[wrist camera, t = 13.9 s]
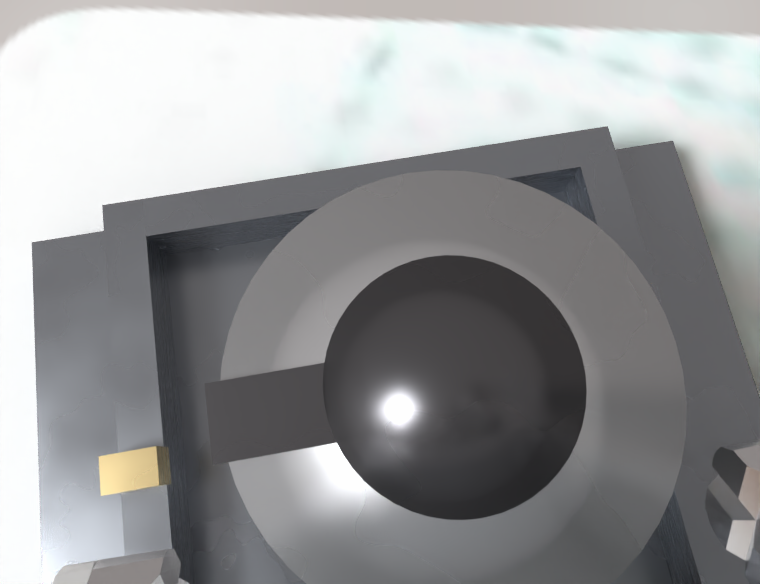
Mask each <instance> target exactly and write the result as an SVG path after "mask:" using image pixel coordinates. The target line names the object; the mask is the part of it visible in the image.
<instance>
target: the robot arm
mask: <svg viewBox="0 0 760 584" xmlns="http://www.w3.org/2000/svg"><path fill="white" fill-rule="evenodd" d="M712 467H713V468H714V469H715V470H716V472H717V473H718V474H719V475H718V476H717V477H716V478H715V479H714V480H713V481H712V482H711V483H710V484H709V485H708V486H707V491H706V497H705V506H706V511H707V515H708V520H709V522H710V524H711V526H712V529H713V531H714V533H715V535H716V536H717V538H718V539H719V540H720V542H721V543H722V545H723V546H724V548H725V549H726V550H728V551H729V552H731V553H733V554H735V555H736V556H738V557H740V558H742V559H743V560H745V577H746V578H747V579H748V581H749V582H750V583H751V584H760V439H757V440H752V441H747V442H742V443H737V444H732V445H727V446H722V447H720V448H719V449H718V450H717V451H716V452H715V453H714V458H713V462H712ZM180 567H181V562H180V560H179V558H178V556H177V554H176V552H175V550H174V549H165V550H158V551H152V552H146V553H139V554H133V555H126V556H120V557H114V558H107V559H101V560H96V561H90V562H84V563H78V564H72V565H66V566H63V567H62V568H61V570H60V571H59V572H58V573H57V574H56V576H55V577H54V579H53V582H52V584H190V583H188V582H186V581H184V580H182V579H181V578H179V573H180Z"/></svg>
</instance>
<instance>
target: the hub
mask: <svg viewBox="0 0 760 584" xmlns="http://www.w3.org/2000/svg"><path fill="white" fill-rule="evenodd" d="M204 386H205V396H206V406H207V416H208V426H209V436H210V446H211V456H212V465H219V464H224V463H229V466H230V469H231V472H232V475H233V479H234V482H235V485H236V487H237V489H238V491H239V493H240V496H241V498H242V500H243V502H244V504H245V506H246V509H247V511H248V513H249V515H250V516H251V518H252V520H253V521H254V523H255V524H256V526H257V527H258V529H259V530H260V532H261V534H262V535H263V537H264V538H265V540H266V541H267V543H268V544H269V545H270V546H271V548H272V549H273V550H274V551H275V552H276V553H277V555H278V556H279V557H280V558H281V559H282V560H283V562H284V563H285V564H286V565H287V566H288V568H289V569H291V570H292V571H293V572H294V573H295V574H296V575H297V576H298V577H300V578H301V579H302V580H303V581H304V582H305V583H306V584H611V583H612V582H614V581H615V580H616V579H617V578H618V577H619V576H620V575H621V574H622V573H623V572H624V571H625V570H626V569H627V567H628V566H629V565H630V564H631V563H632V562H633V560H634V559H635V558H636V557H637V556H638V555H639V553H640V552H641V551H642V550H643V548H644V547H645V545H646V543H647V542H648V540H649V539H650V537H651V536H652V534H653V532H654V531H655V529H656V528H657V526H658V525H659V523H660V521H661V518H662V516H663V514H664V512H665V509H666V507H667V505H668V503H669V501H670V498H671V496H672V494H673V490H674V487H675V484H676V480H677V477H678V473H679V470H680V467H681V462H682V456H683V449H684V443H685V436H686V394H685V384H684V375H683V369H682V365H681V361H680V357H679V353H678V349H677V345H676V341H675V339H674V336H673V333H672V331H671V328H670V325H669V323H668V320H667V317H666V315H665V313H664V311H663V309H662V307H661V305H660V303H659V301H658V299H657V297H656V296H655V294H654V292H653V290H652V288H651V286H650V285H649V284H648V282H647V281H646V279H645V278H644V276H643V275H642V273H641V272H640V271H639V269H638V268H637V266H636V265H635V263H634V262H633V261H632V260H631V259H630V258H629V257H628V255H627V254H626V253H625V252H624V251H623V250H622V249H621V247H620V246H619V245H618V244H617V243H616V242H615V241H614V240H613V239H612V238H611V237H610V236H608V235H607V234H606V233H605V232H604V231H603V230H602V229H601V228H600V227H598V226H597V225H596V224H595V223H594V222H593V221H591V220H590V219H588V218H587V217H585V216H584V215H583V214H581V213H580V212H578V211H577V210H575V209H574V208H573V207H571V206H570V205H568V204H566V203H564V202H562V201H560V200H558V199H557V198H555V197H553V196H551V195H549V194H547V193H546V192H543V191H540V190H538V189H535V188H533V187H530V186H528V185H525V184H523V183H520V182H517V181H513V180H510V179H506V178H502V177H498V176H495V175H490V174H483V173H476V172H469V171H449V170H434V171H423V172H413V173H407V174H402V175H397V176H393V177H388V178H384V179H381V180H378V181H375V182H372V183H369V184H366V185H363V186H361V187H358V188H355V189H353V190H351V191H349V192H347V193H345V194H343V195H341V196H339V197H337V198H335V199H333V200H331V201H330V202H328V203H327V204H325V205H324V206H322V207H321V208H319V209H318V210H316V211H315V212H313V213H312V214H310V215H309V216H308V217H306V218H305V219H304V220H303V221H302V222H301V223H299V224H298V225H297V226H296V227H295V228H294V229H293V230H291V231H290V232H289V233H288V234H287V235H286V236H285V237H284V238H283V239H282V240H281V242H280V243H279V244H278V245H277V246H276V247H275V248H274V249H273V250H272V252H271V253H270V254H269V255H268V256H267V258H266V259H265V261H264V262H263V264H262V265H261V266H260V268H259V269H258V271H257V272H256V274H255V275H254V276H253V278H252V280H251V282H250V284H249V285H248V287H247V289H246V291H245V293H244V295H243V297H242V299H241V301H240V303H239V305H238V308H237V310H236V313H235V316H234V319H233V321H232V324H231V327H230V330H229V333H228V337H227V341H226V346H225V350H224V355H223V359H222V367H221V378H220V381H215V382H210V383H204Z"/></svg>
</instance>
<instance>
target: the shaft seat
mask: <svg viewBox="0 0 760 584" xmlns="http://www.w3.org/2000/svg"><path fill="white" fill-rule="evenodd" d="M434 170H449V171H469V172H476V173H483V174H490V175H495V176H498V177H502V178H506V179H510V180H513V181H517V182H520V183H523V184H525V185H528V186H530V187H533V188H535V189H538V190H540V191H543V192H546V193H547V194H549V195H551V196H553V197H555V198H557V199H558V200H560V201H562V202H564V203H566V204H568V205H570V206H571V207H573V208H574V209H575V210H577V211H578V212H580V213H581V214H583V215H584V216H585V217H587V218H588V219H590V220H591V221H593V222H594V223H595V224H596V225H597V226H598V227H600V228H601V229H602V230H603V231H604V232H605V233H606V234H607V235H608V236H610V237H611V238H612V239H613V240H614V241H615V242H616V243H617V244H618V245H619V246H620V247H621V249H622V250H623V251H624V252H625V253H626V254H627V255H628V257H629V258H630V259H631V260H632V261H633V262H634V263H635V265H636V266H637V268H638V269H639V271H640V272H641V273H642V275H643V276H644V278H645V279H646V281H647V282H648V284H649V285H650V286H651V288H652V290H653V292H654V294H655V296H656V297H657V299H658V301H659V303H660V305H661V307H662V309H663V311H664V313H665V315H666V317H667V320H668V323H669V325H670V328H671V331H672V333H673V336H674V339H675V341H676V345H677V349H678V353H679V357H680V361H681V365H682V369H683V375H684V384H685V394H686V436H685V443H684V449H683V456H682V462H681V467H680V470H679V473H678V477H677V480H676V484H675V487H674V490H673V494H672V496H671V498H670V501H669V503H668V505H667V507H666V509H665V512H664V514H663V516H662V518H661V521H660V523H659V525H658V526H657V528H656V529H655V531H654V532H653V534H652V536H651V537H650V539H649V540H648V542H647V543H646V545H645V547H644V548H643V550H642V551H641V552H640V553H639V555H638V556H637V557H636V558H635V559H634V560H633V562H632V563H631V564H630V565H629V566H628V567H627V569H626V570H625V571H624V572H623V573H622V574H621V575H620V576H619V577H618V578H617V579H616V580H615V581H614V582H612V583H611V584H751V583H750V582H749V581H748V579H747V578H746V577H745V560H743V559H742V558H740V557H738V556H736V555H735V554H733V553H731V552H729V551H728V550H726V549H725V548H724V546H723V545H722V543H721V542H720V540H719V539H718V538H717V536H716V535H715V533H714V531H713V529H712V526H711V524H710V522H709V520H708V515H707V511H706V506H705V497H706V491H707V486H708V485H709V484H710V483H711V482H712V481H713V480H714V479H715V478H716V477H717V476H718V475H719V474H718V473H717V472H716V470H715V469H714V468H713V467H712V462H713V458H714V453H715V452H716V451H717V450H718V449H719V448H720V447H722V446H727V445H732V444H737V443H742V442H747V441H752V440H757V439H760V397H759V394H758V391H757V388H756V385H755V382H754V380H753V377H752V374H751V371H750V368H749V365H748V362H747V359H746V356H745V353H744V350H743V347H742V344H741V341H740V338H739V335H738V332H737V329H736V326H735V323H734V320H733V317H732V314H731V312H730V309H729V306H728V303H727V300H726V297H725V294H724V291H723V288H722V285H721V282H720V279H719V276H718V273H717V270H716V267H715V264H714V261H713V258H712V255H711V252H710V249H709V246H708V243H707V241H706V238H705V235H704V232H703V229H702V226H701V223H700V220H699V217H698V214H697V211H696V208H695V205H694V202H693V199H692V196H691V193H690V190H689V187H688V184H687V181H686V178H685V175H684V172H683V170H682V167H681V164H680V161H679V158H678V155H677V152H676V149H675V146H674V143H673V141H668V142H662V143H656V144H649V145H643V146H637V147H630V148H624V149H618V150H615V148H614V145H613V142H612V139H611V136H610V132H609V129H608V126H607V127H600V128H594V129H588V130H581V131H575V132H568V133H562V134H556V135H549V136H543V137H536V138H530V139H524V140H517V141H511V142H505V143H498V144H492V145H485V146H479V147H473V148H466V149H460V150H453V151H447V152H441V153H434V154H428V155H421V156H415V157H409V158H402V159H396V160H389V161H383V162H377V163H370V164H364V165H358V166H351V167H345V168H338V169H332V170H326V171H319V172H313V173H306V174H300V175H294V176H287V177H281V178H274V179H268V180H262V181H255V182H249V183H242V184H236V185H230V186H223V187H217V188H211V189H204V190H198V191H191V192H185V193H179V194H172V195H166V196H159V197H153V198H147V199H140V200H134V201H127V202H121V203H115V204H108V205H102V206H103V222H104V231H102V232H95V233H89V234H83V235H76V236H70V237H64V238H58V239H51V240H45V241H39V242H32V260H33V293H34V325H35V358H36V391H37V423H38V456H39V488H40V521H41V553H42V584H52V582H53V579H54V577H55V576H56V574H57V573H58V572H59V571H60V570H61V568H62V567H63V566H66V565H72V564H78V563H84V562H90V561H96V560H101V559H107V558H114V557H120V556H126V555H133V554H139V553H146V552H152V551H158V550H165V549H174V550H175V552H176V554H177V556H178V558H179V560H180V562H181V567H180V573H179V578H181V579H182V580H184V581H186V582H188V583H190V584H306V583H305V582H304V581H303V580H302V579H301V578H300V577H298V576H297V575H296V574H295V573H294V572H293V571H292V570H291V569H289V568H288V566H287V565H286V564H285V563H284V562H283V560H282V559H281V558H280V557H279V556H278V555H277V553H276V552H275V551H274V550H273V549H272V548H271V546H270V545H269V544H268V543H267V541H266V540H265V538H264V537H263V535H262V534H261V532H260V530H259V529H258V527H257V526H256V524H255V523H254V521H253V520H252V518H251V516H250V515H249V513H248V511H247V509H246V506H245V504H244V502H243V500H242V498H241V496H240V493H239V491H238V489H237V487H236V485H235V482H234V479H233V475H232V472H231V469H230V466H229V463H224V464H219V465H212V456H211V446H210V436H209V426H208V416H207V406H206V396H205V386H204V383H210V382H215V381H220V378H221V367H222V359H223V355H224V350H225V346H226V341H227V337H228V333H229V330H230V327H231V324H232V321H233V319H234V316H235V313H236V310H237V308H238V305H239V303H240V301H241V299H242V297H243V295H244V293H245V291H246V289H247V287H248V285H249V284H250V282H251V280H252V278H253V276H254V275H255V274H256V272H257V271H258V269H259V268H260V266H261V265H262V264H263V262H264V261H265V259H266V258H267V256H268V255H269V254H270V253H271V252H272V250H273V249H274V248H275V247H276V246H277V245H278V244H279V243H280V242H281V240H282V239H283V238H284V237H285V236H286V235H287V234H288V233H289V232H290V231H291V230H293V229H294V228H295V227H296V226H297V225H298V224H299V223H301V222H302V221H303V220H304V219H305V218H306V217H308V216H309V215H310V214H312V213H313V212H315V211H316V210H318V209H319V208H321V207H322V206H324V205H325V204H327V203H328V202H330V201H331V200H333V199H335V198H337V197H339V196H341V195H343V194H345V193H347V192H349V191H351V190H353V189H355V188H358V187H361V186H363V185H366V184H369V183H372V182H375V181H378V180H381V179H384V178H388V177H393V176H397V175H402V174H407V173H413V172H423V171H434Z"/></svg>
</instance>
